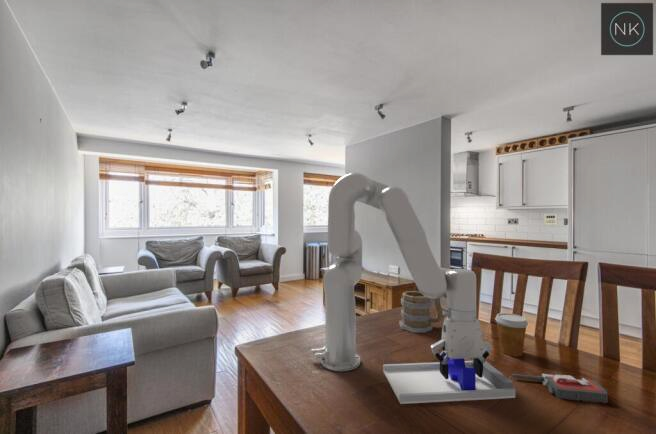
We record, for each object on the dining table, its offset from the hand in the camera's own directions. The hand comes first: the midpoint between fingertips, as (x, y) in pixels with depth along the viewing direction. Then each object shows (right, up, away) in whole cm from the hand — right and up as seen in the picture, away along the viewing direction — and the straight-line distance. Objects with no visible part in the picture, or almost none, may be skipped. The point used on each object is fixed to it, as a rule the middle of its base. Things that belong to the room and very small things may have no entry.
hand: (461, 375), depth 82 cm
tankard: (+4, -3, +42) cm, 42 cm away
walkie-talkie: (+25, -3, -3) cm, 25 cm away
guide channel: (-5, -2, 0) cm, 5 cm away
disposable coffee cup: (+26, -2, +19) cm, 32 cm away
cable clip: (0, -2, 0) cm, 2 cm away
